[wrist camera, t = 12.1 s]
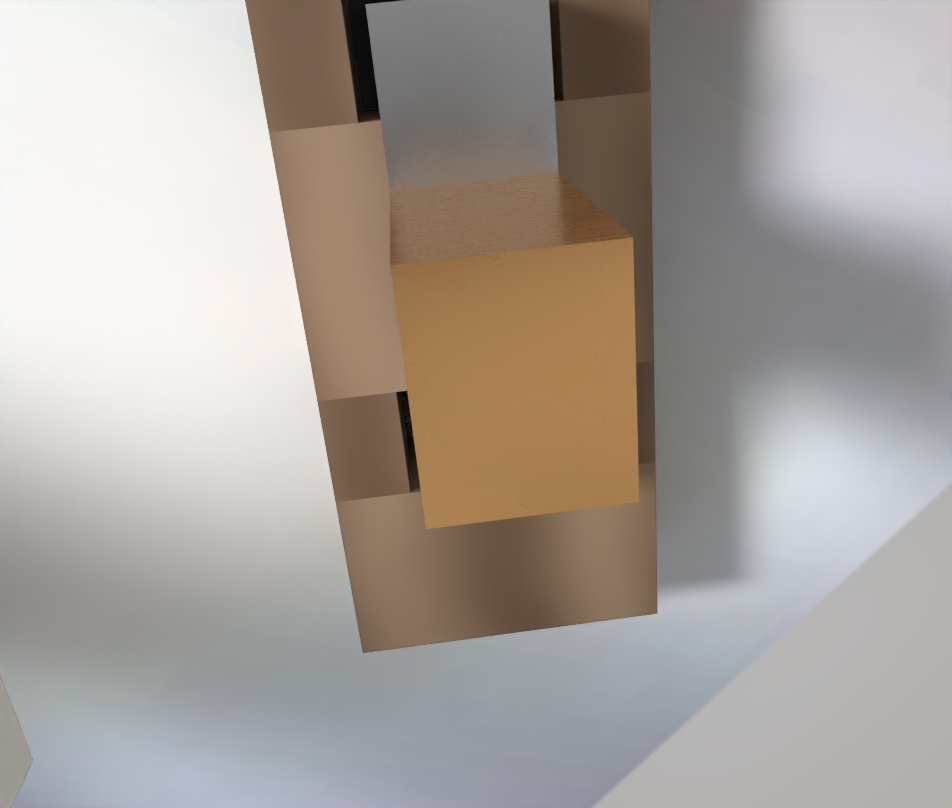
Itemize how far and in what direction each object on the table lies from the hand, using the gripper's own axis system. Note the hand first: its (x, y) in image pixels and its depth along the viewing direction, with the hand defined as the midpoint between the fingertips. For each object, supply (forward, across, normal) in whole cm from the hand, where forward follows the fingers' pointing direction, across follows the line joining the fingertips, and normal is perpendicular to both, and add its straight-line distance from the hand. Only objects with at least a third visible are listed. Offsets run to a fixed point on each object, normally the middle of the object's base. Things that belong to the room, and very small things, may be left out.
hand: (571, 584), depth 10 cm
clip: (+20, 0, 0) cm, 20 cm away
